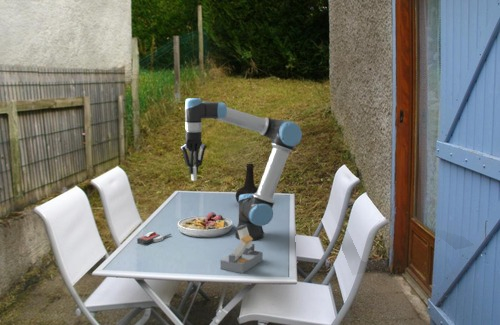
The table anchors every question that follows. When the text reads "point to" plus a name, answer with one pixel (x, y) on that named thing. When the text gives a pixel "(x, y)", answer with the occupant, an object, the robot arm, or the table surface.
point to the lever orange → (242, 246)
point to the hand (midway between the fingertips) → (193, 180)
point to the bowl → (205, 225)
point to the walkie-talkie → (150, 238)
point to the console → (242, 261)
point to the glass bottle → (247, 183)
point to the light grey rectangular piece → (244, 234)
